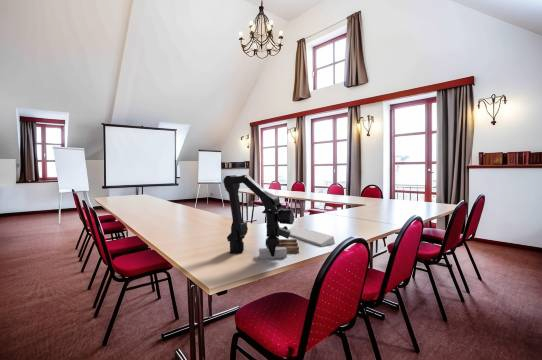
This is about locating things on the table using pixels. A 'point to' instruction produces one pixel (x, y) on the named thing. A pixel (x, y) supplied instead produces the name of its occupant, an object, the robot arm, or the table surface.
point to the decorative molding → (311, 236)
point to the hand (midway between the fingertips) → (273, 254)
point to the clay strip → (279, 253)
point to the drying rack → (289, 245)
